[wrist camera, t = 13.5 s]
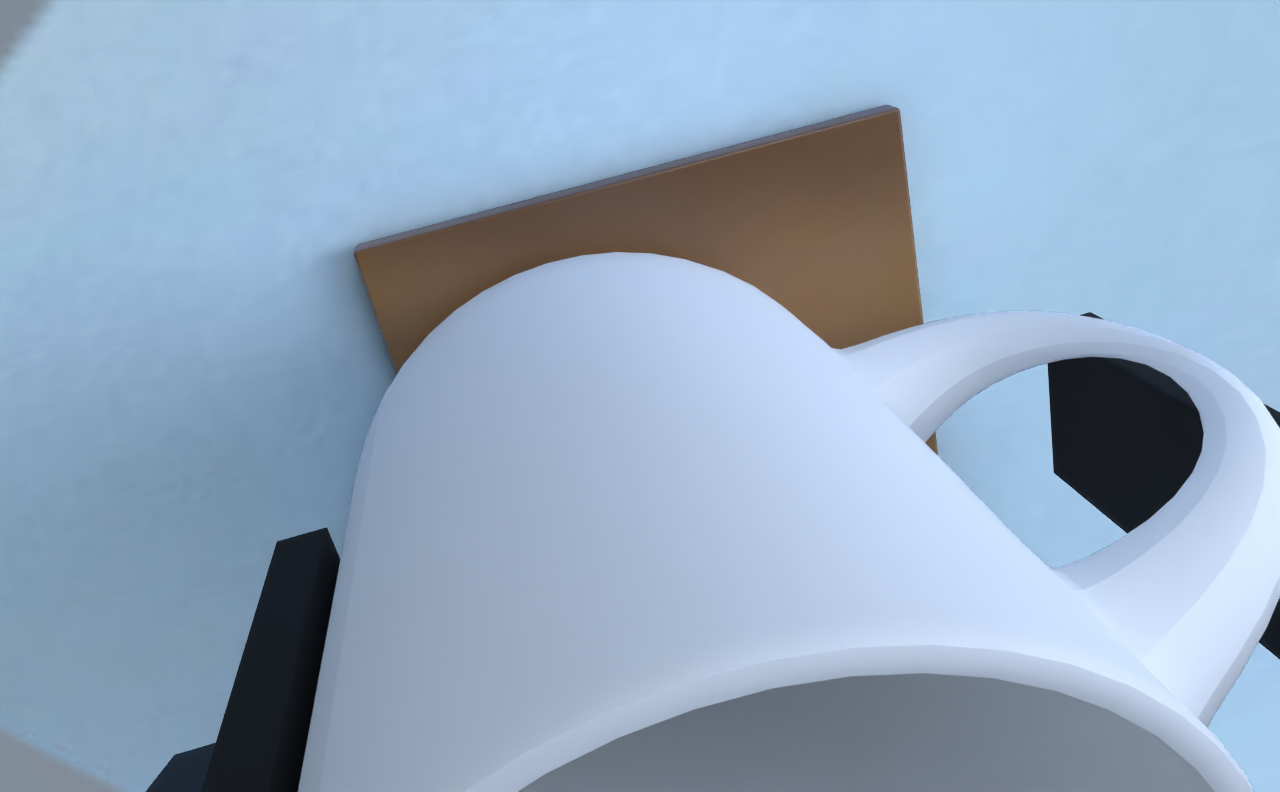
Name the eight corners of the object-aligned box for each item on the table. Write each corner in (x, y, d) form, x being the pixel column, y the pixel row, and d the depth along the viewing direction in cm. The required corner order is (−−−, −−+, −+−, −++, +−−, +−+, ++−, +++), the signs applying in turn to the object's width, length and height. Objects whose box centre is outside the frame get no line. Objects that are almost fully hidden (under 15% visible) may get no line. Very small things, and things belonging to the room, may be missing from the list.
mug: (1067, 439, 19) (1693, 922, 10) (530, 744, 20) (606, 1487, 10) (901, 23, 16) (1638, 120, 6) (251, 412, 16) (-41, 1069, 7)
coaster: (355, 244, 16) (352, 252, 16) (888, 102, 17) (900, 107, 16) (508, 677, 20) (509, 693, 19) (939, 549, 20) (951, 562, 20)
